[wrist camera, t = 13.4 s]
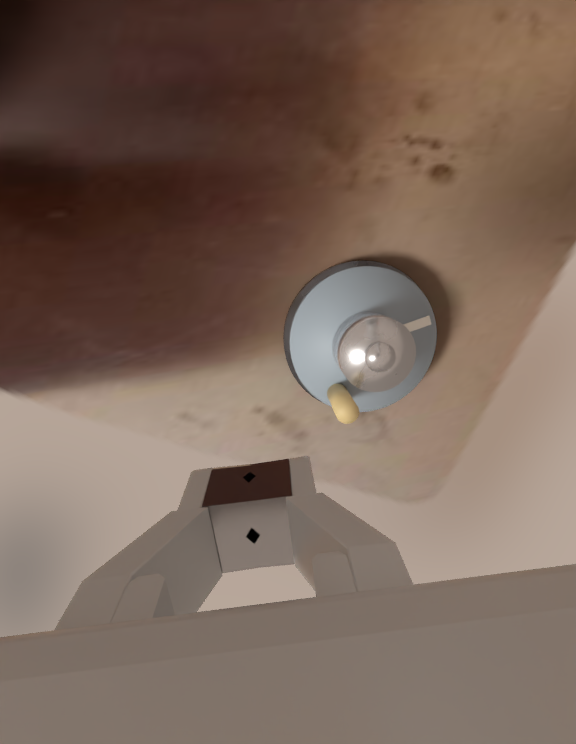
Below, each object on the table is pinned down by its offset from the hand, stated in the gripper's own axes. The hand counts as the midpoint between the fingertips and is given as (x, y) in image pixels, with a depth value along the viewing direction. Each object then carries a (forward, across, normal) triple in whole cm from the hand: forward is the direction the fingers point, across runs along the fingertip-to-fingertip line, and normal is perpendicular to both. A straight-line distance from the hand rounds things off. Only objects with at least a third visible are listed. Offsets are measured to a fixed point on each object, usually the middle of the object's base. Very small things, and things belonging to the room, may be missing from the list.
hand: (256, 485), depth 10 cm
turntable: (+20, -7, +2) cm, 21 cm away
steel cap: (+19, -8, +2) cm, 20 cm away
